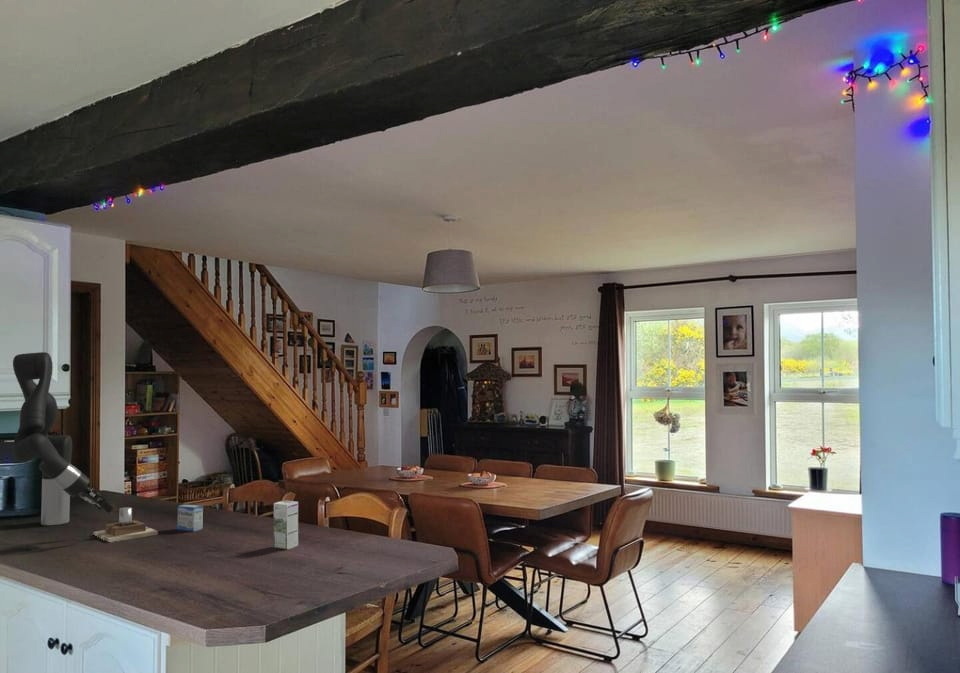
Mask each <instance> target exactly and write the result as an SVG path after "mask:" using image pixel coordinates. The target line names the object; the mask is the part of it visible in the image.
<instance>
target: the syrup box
mask: <svg viewBox="0 0 960 673" xmlns="http://www.w3.org/2000/svg"><path fill="white" fill-rule="evenodd" d="M296 547H299V501H293V500H280V501H276V502H274V503H273V548H274V549H280V550H291V549H294V548H296Z"/></svg>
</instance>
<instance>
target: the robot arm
mask: <svg viewBox="0 0 960 673" xmlns="http://www.w3.org/2000/svg"><path fill="white" fill-rule="evenodd" d="M12 367H13V372H14V374H15V377H16V380H17V383H18V384H19V387H20V389H21V392H22V395H23V399H24V402H23V404H22V405H21V408H20V413H19V414H20V415H19V427H18V430H17V432H16V435H15V438H14V442H13V444H12V453H13V456H14V457H15V458H16V459H17V460H18V461H19V462H21V463H27V462H30V461H32V460H34V459H36V458H38V457H39V458H40V459H41V462H40V463H39V466H38V469H39V471H41V473H42V475H41V476H42V477H41V509H40V511H41V512H40V513H41V514H40V516H41V517H40V525H42V526H57V525H63V524H68V523H69V522H70V507H71V506H70V505H71V504H70V503H71V497H73V498H74V497H77V496H78V495H79V497H80V499H83V500H84V501H85V502H88V503H89V504H91V505H93V506H94V507H95V508H96V509H97V510H99V511H101V510H103V511H105V512H106V513H108V514H109V513H111V512H112V511H113V510H114V507H113V506H112V505H111V504H110V503H109V502H107V499H106V498H104V497H103V496H102V495H101V494H100V492H97V491H96V490H95V489H94V488H93V487H90V486H89V485H90V482H91V480H90V478H89V477H88V476H87V475H86V474H84V473H83V472H82V471H81V470H80V469H78V468H77V467H76V466H74V465H73V464H72V454H73V440H72V437H71V436H70V435H66V434H62V435H60V434H59V435H49V434H48V432H49V430H50V429H51V428H52V426H53V425H54V424H55V422H56V421H57V420H58V417H59V414H60V412H59V408H58V404H57V400H56V398H55V397H54V395H53V394H51V393H50V386H51V383H52V382H51V381H52V376H53V361H52V357H51V354H50V353H48V352H43V351H42V352H41V351H40V352H39V351H38V352H29V353H28V352H27V353H19V354H16V355H15V356H14V357H13V360H12ZM34 380H38V382H37V383H36V382H35V381H34Z"/></svg>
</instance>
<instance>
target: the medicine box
mask: <svg viewBox="0 0 960 673" xmlns="http://www.w3.org/2000/svg"><path fill="white" fill-rule="evenodd" d="M203 513H204V506H203V505H197V504H181V505H178V506H177V526H176V527H177V531H182V532H183V531H184V532H193V533H194V532H197V531H202V530H203V529H204V528H203V527H204V526H203V519H204V518H203V516H204V515H203Z"/></svg>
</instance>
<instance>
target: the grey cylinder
mask: <svg viewBox="0 0 960 673" xmlns="http://www.w3.org/2000/svg"><path fill="white" fill-rule="evenodd" d="M118 512H119V513H118V514H119V515H118V522H119V527H122V526H128V525H132V520H133V507H129V506H128V507H126V506H125V507H121V508H119V511H118Z"/></svg>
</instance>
